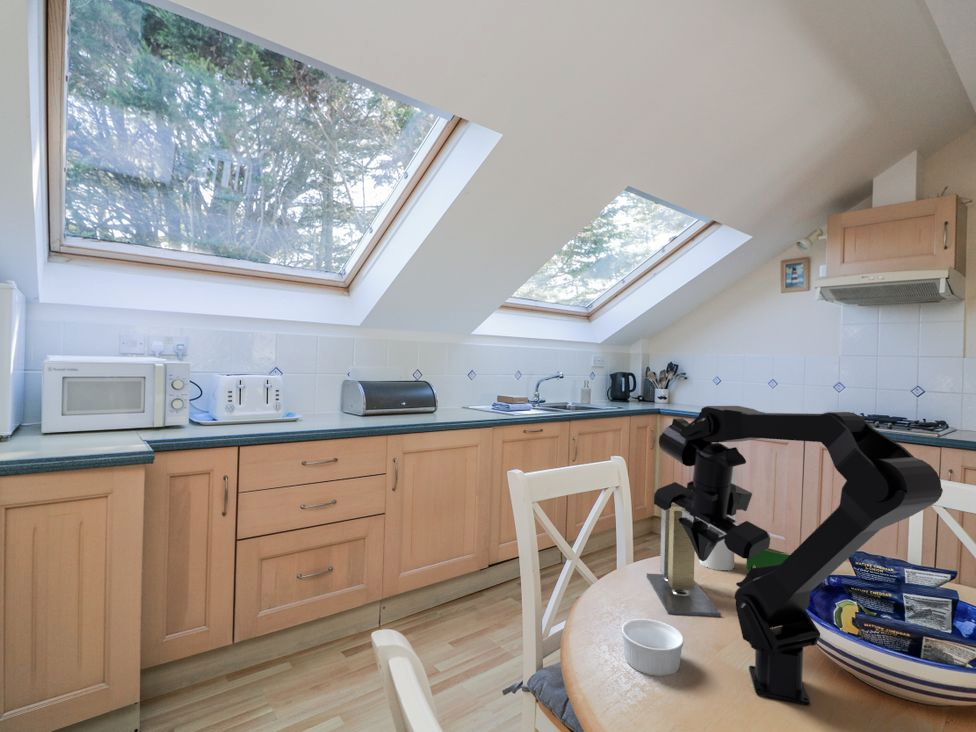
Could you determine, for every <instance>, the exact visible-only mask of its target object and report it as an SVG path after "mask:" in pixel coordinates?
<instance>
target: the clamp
mask: <svg viewBox="0 0 976 732" xmlns="http://www.w3.org/2000/svg"><path fill="white" fill-rule="evenodd" d="M790 555H791V553H790V554H789V553H783V552H778V551H773V550H770V549H769V548H767V549H766V550H764V551H762V552H760V553H758V554H757V555H755V556H753V557H751V558H749V559H746V564H745V565H746V566H745V567H746V568H745V569H746V571H747V573H748V572H749V571H750V570H751V569H752V568H758V567H764V566H771V565H777V564H782V563H783V562H784V561H785V560H786V559H787V558H788V557H789V556H790Z"/></svg>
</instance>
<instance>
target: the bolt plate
mask: <svg viewBox="0 0 976 732" xmlns="http://www.w3.org/2000/svg"><path fill="white" fill-rule="evenodd" d="M671 506H673V507H680V506H679V505H677V504H675V503H672V504H671ZM660 518H661V519H660V520H661V521H660V523H661V525H660V559H659V560H660V561H659V563H660V564H659V565H660V566H659V571H660V573H661V574H660V573H646V579H648V581H649V583H650V585H651V586H652V587H651V588H653V590H654V592H655V594H656V595H657V597H658V598H659V600H660V602H661V604H662V605H663V608H664V609H665V611H666V613H667V614H668V615H684V616H699V617H716V618H718V617H719V618H720V617H721V613H720V611H719V610H718V608H717V607H715V605H714V604H713V602H712V601H711V599H709V597H708V596H707V595H706V594H705V591H703V590H702V588H701V587H700V586H699V584H697V582H696V581H695V580H694V590H683V591H679V590H678V589H672V588H671V586H670V585H669V583H668V557H669V518H670V509H667V510H663V509H662V508H661V517H660Z"/></svg>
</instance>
